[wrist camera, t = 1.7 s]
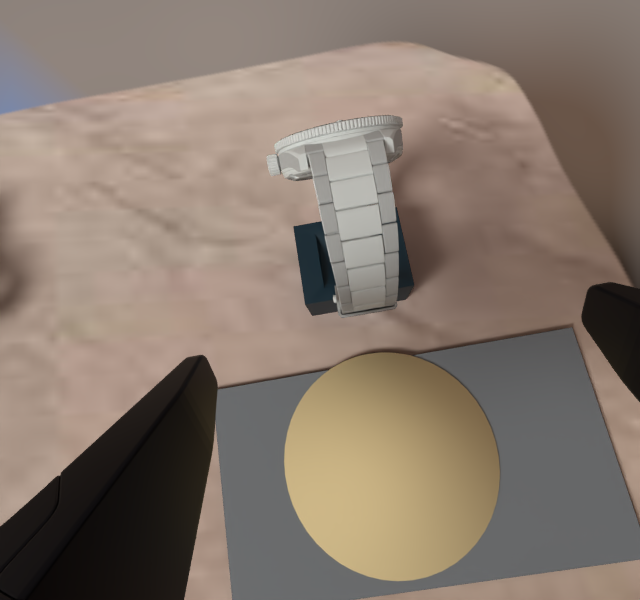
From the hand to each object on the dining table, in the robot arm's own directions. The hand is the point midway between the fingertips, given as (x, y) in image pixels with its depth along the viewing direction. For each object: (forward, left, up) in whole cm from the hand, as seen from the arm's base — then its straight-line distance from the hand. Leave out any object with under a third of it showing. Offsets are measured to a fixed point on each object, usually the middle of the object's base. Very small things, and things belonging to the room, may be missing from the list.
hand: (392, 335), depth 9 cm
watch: (+5, 0, -12) cm, 14 cm away
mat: (-5, -1, -12) cm, 13 cm away
